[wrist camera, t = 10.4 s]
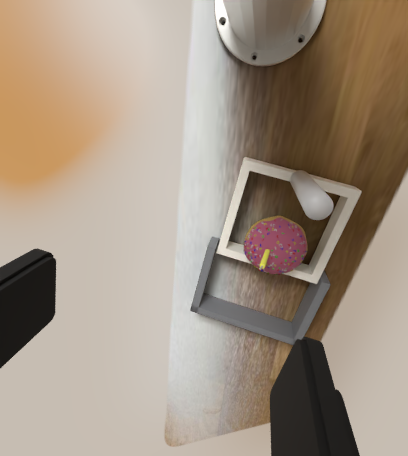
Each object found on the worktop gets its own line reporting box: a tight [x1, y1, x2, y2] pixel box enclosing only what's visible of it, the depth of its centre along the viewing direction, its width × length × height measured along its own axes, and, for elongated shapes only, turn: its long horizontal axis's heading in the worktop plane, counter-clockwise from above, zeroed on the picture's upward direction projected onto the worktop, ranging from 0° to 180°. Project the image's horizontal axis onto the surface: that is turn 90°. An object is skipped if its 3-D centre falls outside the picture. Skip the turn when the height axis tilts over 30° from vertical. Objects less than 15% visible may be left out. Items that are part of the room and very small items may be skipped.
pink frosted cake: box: [243, 216, 307, 275], centre depth 36 cm, size 9×8×12 cm
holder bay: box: [190, 237, 330, 345], centre depth 44 cm, size 12×18×4 cm
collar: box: [217, 157, 362, 284], centre depth 33 cm, size 15×15×16 cm
